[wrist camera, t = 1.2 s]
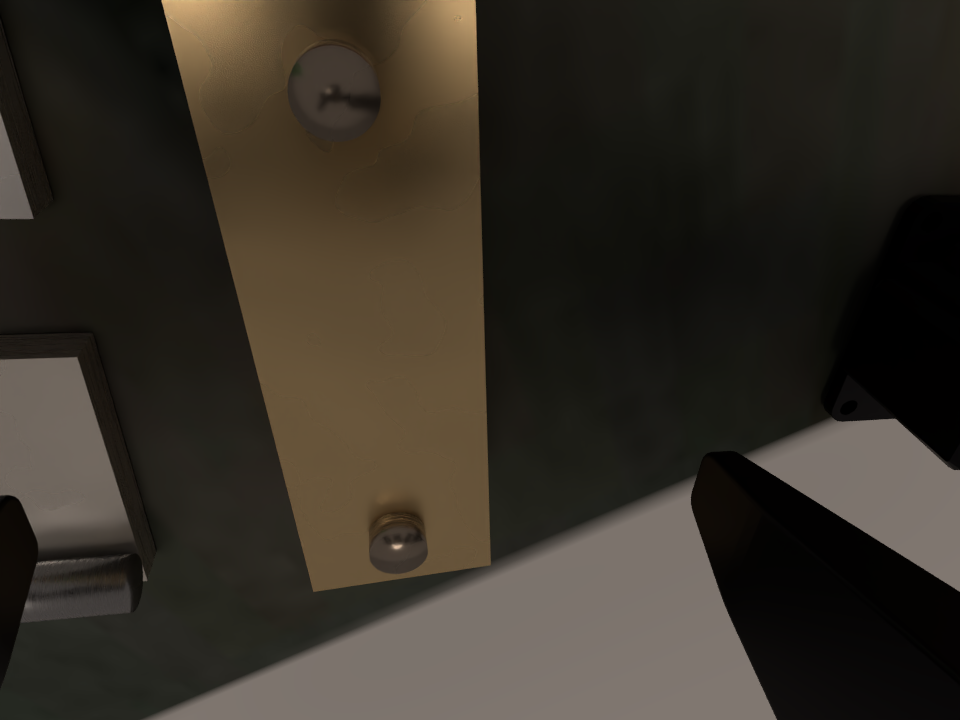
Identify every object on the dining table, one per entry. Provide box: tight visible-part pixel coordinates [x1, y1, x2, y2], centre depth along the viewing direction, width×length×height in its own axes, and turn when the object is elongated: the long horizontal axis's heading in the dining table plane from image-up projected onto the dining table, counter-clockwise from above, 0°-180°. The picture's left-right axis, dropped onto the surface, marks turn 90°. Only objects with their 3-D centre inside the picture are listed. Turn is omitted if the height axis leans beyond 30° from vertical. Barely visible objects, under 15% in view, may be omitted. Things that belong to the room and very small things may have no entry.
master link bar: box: [162, 0, 491, 592], centre depth 13 cm, size 4×12×5 cm, turn 2°
